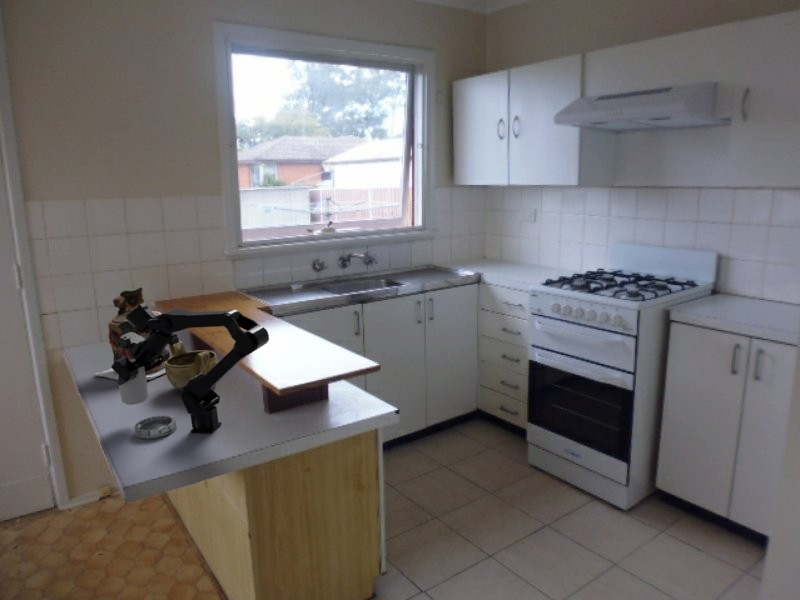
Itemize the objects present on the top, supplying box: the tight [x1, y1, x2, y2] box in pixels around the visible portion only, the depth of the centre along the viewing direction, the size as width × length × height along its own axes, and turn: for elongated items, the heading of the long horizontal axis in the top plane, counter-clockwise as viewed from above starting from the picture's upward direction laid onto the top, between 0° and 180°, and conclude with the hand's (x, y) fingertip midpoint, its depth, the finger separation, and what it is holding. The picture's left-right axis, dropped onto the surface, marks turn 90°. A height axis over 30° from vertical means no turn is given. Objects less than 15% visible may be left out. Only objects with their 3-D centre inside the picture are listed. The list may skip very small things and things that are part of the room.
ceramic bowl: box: [165, 339, 219, 391], centre depth 203 cm, size 22×17×15 cm
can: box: [117, 359, 150, 406], centre depth 175 cm, size 8×8×12 cm
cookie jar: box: [94, 286, 169, 381], centre depth 221 cm, size 25×25×32 cm
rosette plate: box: [134, 414, 177, 441], centre depth 172 cm, size 11×11×2 cm
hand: (128, 379), depth 176 cm, fingers closed on can, 7 cm apart
